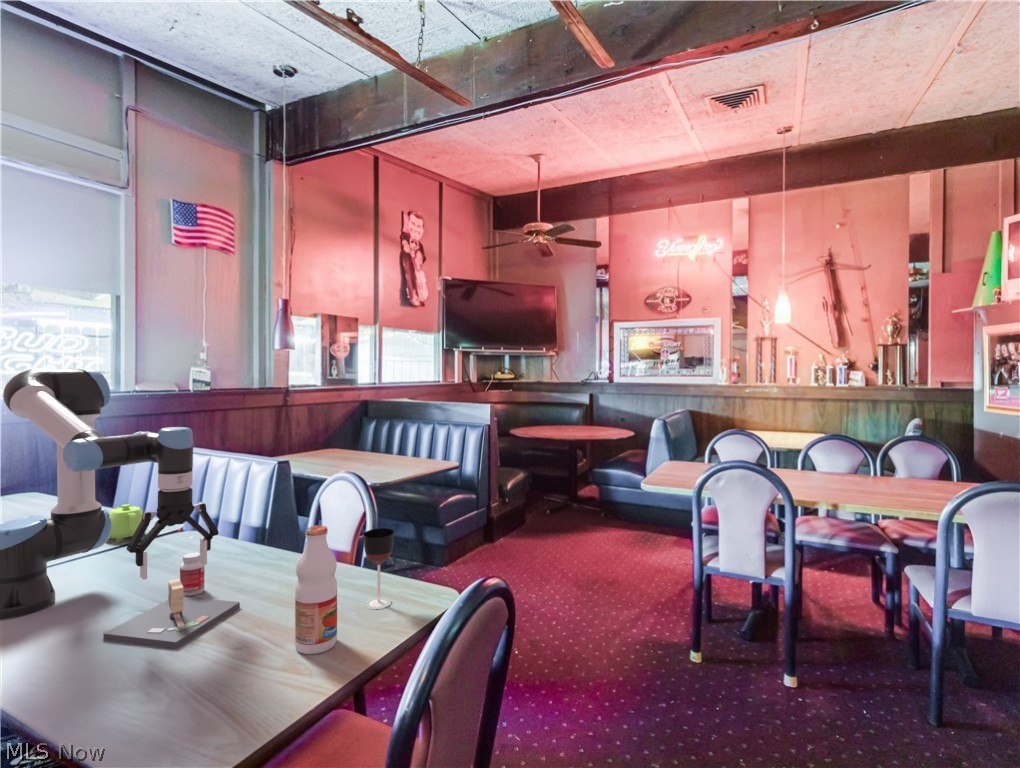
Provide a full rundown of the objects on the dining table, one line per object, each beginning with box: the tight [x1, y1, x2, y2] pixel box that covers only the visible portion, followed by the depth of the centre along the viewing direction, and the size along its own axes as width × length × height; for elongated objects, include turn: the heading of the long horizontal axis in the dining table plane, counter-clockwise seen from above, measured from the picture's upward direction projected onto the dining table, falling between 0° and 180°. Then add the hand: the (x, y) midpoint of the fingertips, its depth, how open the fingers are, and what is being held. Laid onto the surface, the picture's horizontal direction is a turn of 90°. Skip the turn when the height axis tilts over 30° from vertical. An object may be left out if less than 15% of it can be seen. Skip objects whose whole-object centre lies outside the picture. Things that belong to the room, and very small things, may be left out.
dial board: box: [102, 596, 241, 649], centre depth 138 cm, size 20×22×2 cm
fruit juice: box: [294, 525, 338, 655], centre depth 127 cm, size 9×9×28 cm
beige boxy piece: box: [167, 578, 184, 628], centre depth 135 cm, size 12×3×8 cm, turn 39°
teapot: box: [109, 503, 144, 543], centre depth 206 cm, size 20×13×13 cm
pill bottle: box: [179, 551, 205, 597], centre depth 156 cm, size 6×6×11 cm
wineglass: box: [363, 527, 395, 607], centre depth 150 cm, size 8×9×20 cm
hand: (174, 570), depth 138 cm, fingers open, 13 cm apart
